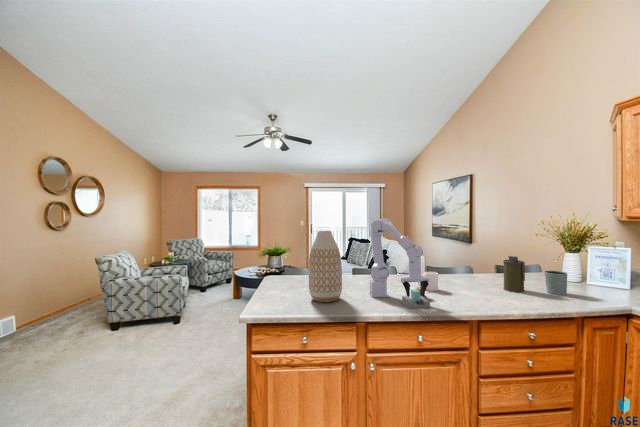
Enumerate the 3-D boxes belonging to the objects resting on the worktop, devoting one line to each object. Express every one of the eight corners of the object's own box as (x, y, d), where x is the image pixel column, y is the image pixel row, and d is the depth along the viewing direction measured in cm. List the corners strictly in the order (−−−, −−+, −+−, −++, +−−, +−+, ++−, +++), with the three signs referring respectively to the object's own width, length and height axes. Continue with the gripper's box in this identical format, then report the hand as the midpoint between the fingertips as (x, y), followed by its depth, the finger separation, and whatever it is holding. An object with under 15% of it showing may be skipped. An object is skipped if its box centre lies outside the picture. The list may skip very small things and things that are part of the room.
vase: (340, 305, 149) (338, 232, 149) (305, 303, 153) (304, 232, 153) (344, 295, 167) (343, 229, 167) (313, 294, 171) (312, 230, 171)
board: (409, 308, 143) (409, 302, 143) (402, 302, 153) (402, 296, 153) (429, 307, 144) (429, 301, 144) (421, 301, 154) (421, 295, 154)
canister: (499, 289, 174) (499, 256, 174) (510, 287, 178) (509, 254, 178) (518, 293, 164) (517, 258, 164) (529, 291, 168) (528, 257, 168)
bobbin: (418, 299, 157) (418, 290, 157) (414, 296, 163) (413, 287, 163) (429, 299, 157) (428, 289, 157) (424, 295, 163) (424, 287, 163)
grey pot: (568, 296, 157) (568, 274, 157) (544, 294, 163) (544, 272, 163) (567, 292, 165) (566, 271, 165) (544, 289, 171) (544, 269, 171)
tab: (416, 305, 143) (416, 293, 143) (411, 301, 150) (411, 289, 150) (422, 305, 143) (422, 293, 143) (416, 300, 150) (416, 289, 150)
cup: (440, 291, 172) (440, 274, 172) (420, 291, 172) (419, 274, 172) (435, 287, 180) (434, 271, 180) (415, 287, 180) (415, 271, 180)
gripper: (404, 271, 144) (404, 298, 144) (432, 270, 145) (432, 297, 145) (399, 268, 151) (399, 294, 151) (425, 268, 152) (426, 293, 152)
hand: (415, 296), depth 148 cm, fingers open, 7 cm apart
